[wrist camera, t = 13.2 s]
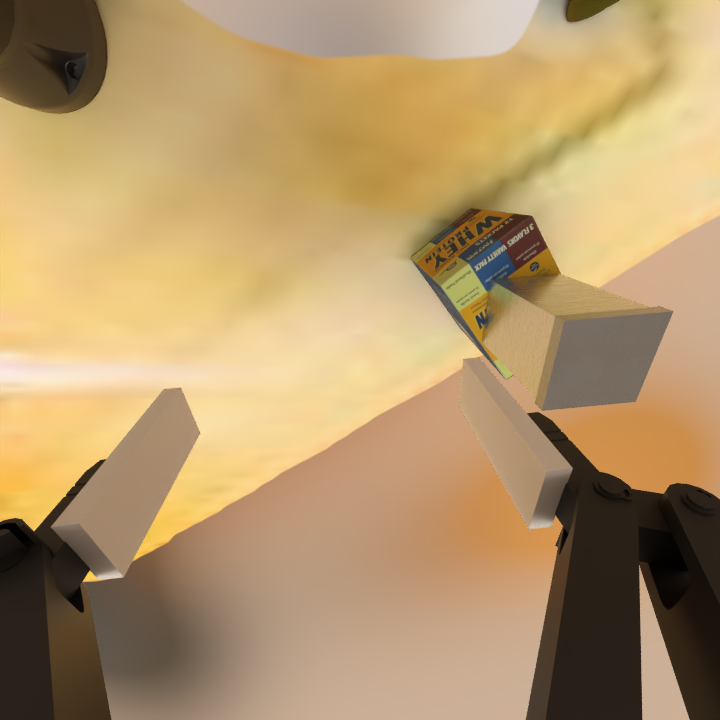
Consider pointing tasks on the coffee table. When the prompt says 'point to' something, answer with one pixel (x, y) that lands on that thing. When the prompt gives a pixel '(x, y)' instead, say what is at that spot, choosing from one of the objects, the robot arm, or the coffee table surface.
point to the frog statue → (586, 8)
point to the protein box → (482, 265)
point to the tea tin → (571, 339)
